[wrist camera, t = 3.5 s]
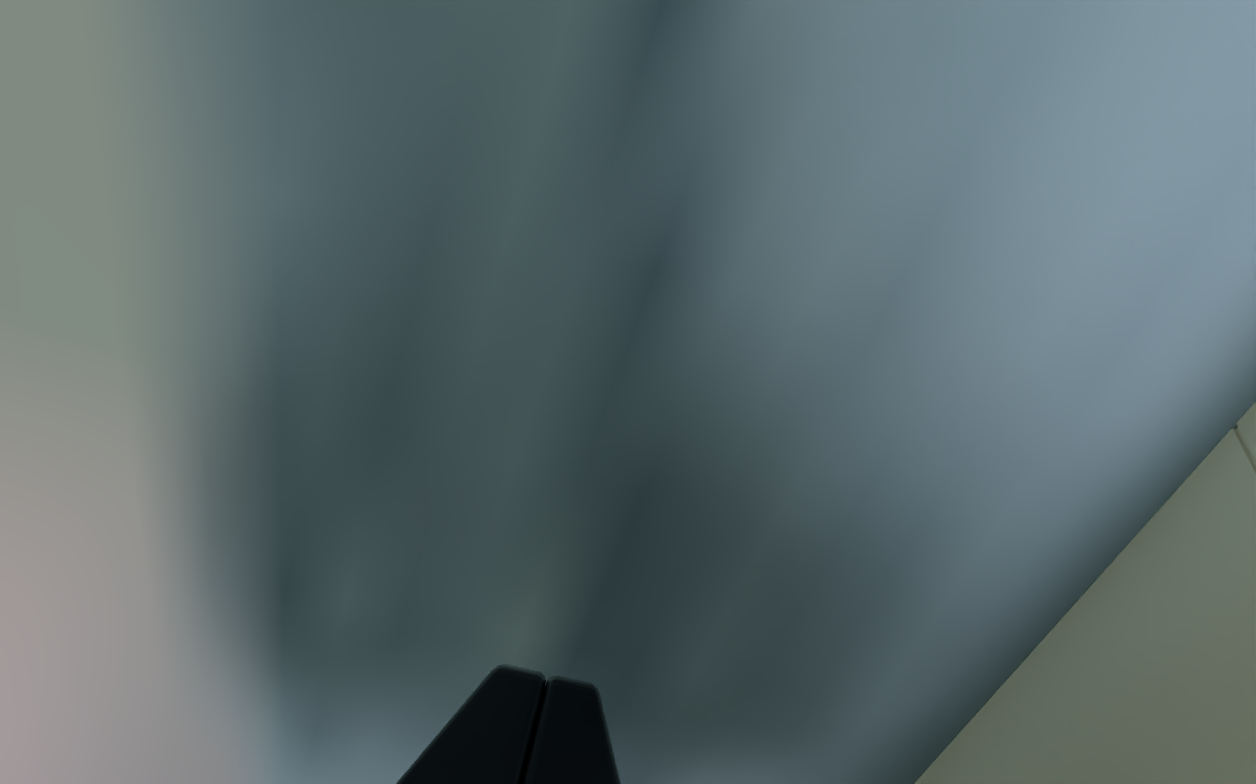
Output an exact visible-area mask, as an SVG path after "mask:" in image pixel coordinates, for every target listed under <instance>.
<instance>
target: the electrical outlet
mask: <svg viewBox="0 0 1256 784" xmlns="http://www.w3.org/2000/svg"><path fill="white" fill-rule="evenodd" d="M1236 425H1237V426H1238V427H1237V428H1236V429H1233V428H1231V430H1230V431H1229V432H1228V433H1227V434H1226V435H1225V436H1224V437H1223V439H1222V440H1221V441H1220V442H1219V443H1218V444H1217V445H1216V446H1215V447H1214V449H1213V450H1212V451H1211V452H1210V453H1209V454H1208V455H1207V456H1206V458H1205V459H1204V460H1203V461H1202V462H1201V463H1200V464H1199V465H1198V466H1197V468H1196V469H1195V470H1194V471H1193V472H1192V473H1191V474H1190V475H1189V477H1188V478H1187V479H1186V480H1185V481H1184V482H1183V483H1182V484H1181V485H1180V487H1179V488H1178V489H1177V490H1176V491H1175V492H1174V493H1173V494H1172V496H1171V497H1170V498H1169V499H1168V500H1167V501H1166V502H1165V503H1164V505H1163V506H1162V507H1161V508H1160V509H1159V510H1158V511H1157V512H1156V513H1155V515H1154V516H1153V517H1152V518H1151V519H1150V520H1149V521H1148V522H1147V524H1146V525H1145V526H1144V527H1143V528H1142V529H1141V530H1140V531H1139V532H1138V534H1137V535H1136V536H1135V537H1134V538H1133V539H1132V540H1131V541H1130V543H1129V544H1128V545H1127V546H1126V547H1125V548H1124V549H1123V550H1122V551H1121V553H1120V554H1119V555H1118V556H1117V557H1116V558H1115V559H1114V560H1113V562H1112V563H1111V564H1110V565H1109V566H1108V567H1107V568H1106V569H1105V571H1104V572H1103V573H1102V574H1101V575H1100V576H1099V577H1098V578H1097V579H1096V581H1095V582H1094V583H1093V584H1092V585H1091V586H1090V587H1089V588H1088V590H1087V591H1086V592H1085V593H1084V594H1083V595H1082V596H1081V597H1080V598H1079V600H1078V601H1077V602H1076V603H1075V604H1074V605H1073V606H1072V607H1071V609H1070V610H1069V611H1068V612H1067V613H1066V614H1065V615H1064V616H1063V617H1062V619H1061V620H1060V621H1059V622H1058V623H1057V624H1056V625H1055V626H1054V628H1053V629H1052V630H1051V631H1050V632H1049V633H1048V634H1047V635H1046V636H1045V638H1044V639H1043V640H1042V641H1041V642H1040V643H1039V644H1038V645H1037V647H1036V648H1035V649H1034V650H1033V651H1032V652H1031V653H1030V654H1029V656H1028V657H1027V658H1026V659H1025V660H1024V661H1023V662H1022V663H1021V664H1020V666H1019V667H1018V668H1017V669H1016V670H1015V671H1014V672H1013V673H1012V675H1011V676H1010V677H1009V678H1008V679H1007V680H1006V681H1005V682H1004V683H1003V685H1002V686H1001V687H1000V688H999V689H998V690H997V691H996V692H995V694H994V695H993V696H992V697H991V698H990V699H989V700H988V701H987V702H986V704H985V705H984V706H983V707H982V708H981V709H980V710H979V711H978V713H977V714H976V715H975V716H974V717H973V718H972V719H971V720H970V721H969V723H968V724H967V725H966V726H965V727H964V728H963V729H962V730H961V732H960V733H959V734H958V735H957V736H956V737H955V738H954V739H953V741H952V742H951V743H950V744H949V745H948V746H947V747H946V748H945V749H944V751H943V752H942V753H941V754H940V755H939V756H938V757H937V758H936V760H935V761H934V762H933V763H932V764H931V765H930V766H929V767H928V768H927V770H926V771H925V772H924V773H923V774H922V775H921V776H920V777H919V779H918V780H917V781H916V782H915V783H914V784H1256V402H1255V403H1254V404H1253V405H1252V406H1251V407H1250V408H1249V409H1248V411H1247V412H1246V413H1245V414H1244V415H1243V416H1242V417H1241V418H1240V420H1239V421H1238V422H1237V423H1236Z"/></svg>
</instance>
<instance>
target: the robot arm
mask: <svg viewBox="0 0 1256 784" xmlns="http://www.w3.org/2000/svg"><path fill="white" fill-rule="evenodd" d="M545 685H546V686H545ZM396 784H621V783H620V778H619V774H618V770H617V765H616V761H615V757H614V752H613V748H612V744H611V739H610V735H609V730H608V726H607V722H606V717H605V713H604V709H603V704H602V700H601V696H600V693H599V691H598V689H597V687H596V686H595V685H593V684H592V683H588V682H584V681H579V680H575V679H570V678H566V677H561V676H553V677H551V678H550V679H549V680H548V681H547V683H546V679H545V676H544V675H543V674H542V673H540V672H538V671H534V670H529V669H524V668H520V667H515V666H511V665H505V664H503V665H499V666H497V667H496V668H494V669H493V670H492V671H491V672H490V673H489V674H488V676H487V677H486V678H485V679H484V680H483V681H482V683H481V684H480V685H479V686H478V687H477V689H476V690H475V691H474V692H473V693H472V694H471V696H470V697H469V698H468V699H467V700H466V702H465V703H464V704H463V705H462V706H461V707H460V709H459V710H458V711H457V712H456V713H455V715H454V716H453V717H452V718H451V719H450V720H449V722H448V723H447V724H446V725H445V726H444V728H443V729H442V730H441V731H440V732H439V733H438V735H437V736H436V737H435V738H434V739H433V741H432V742H431V743H430V744H429V745H428V746H427V748H426V749H425V750H424V751H423V752H422V754H421V755H420V756H419V757H418V758H417V759H416V761H415V762H414V763H413V764H412V765H411V767H410V768H409V769H408V770H407V771H406V772H405V774H404V775H403V776H402V777H401V778H400V780H399V781H398V782H397V783H396Z"/></svg>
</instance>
